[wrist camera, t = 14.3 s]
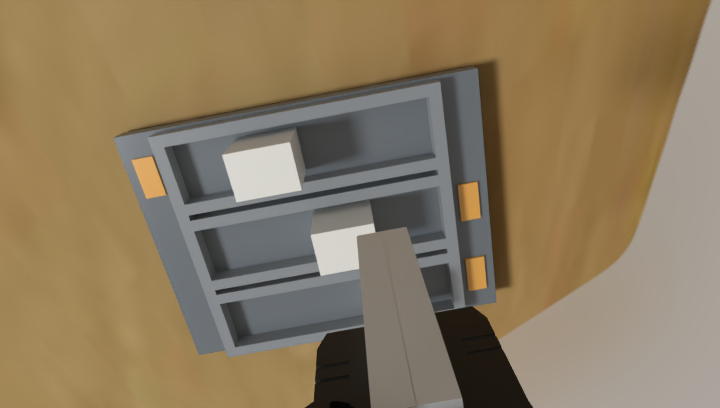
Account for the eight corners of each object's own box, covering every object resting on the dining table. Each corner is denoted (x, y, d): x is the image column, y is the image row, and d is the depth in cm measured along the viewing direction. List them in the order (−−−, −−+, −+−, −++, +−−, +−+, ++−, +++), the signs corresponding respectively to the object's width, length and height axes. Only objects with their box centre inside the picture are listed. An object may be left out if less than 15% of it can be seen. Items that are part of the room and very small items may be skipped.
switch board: (123, 132, 31) (104, 142, 29) (471, 65, 30) (483, 70, 28) (204, 342, 38) (194, 365, 35) (490, 291, 37) (501, 311, 35)
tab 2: (313, 210, 32) (310, 234, 28) (369, 199, 32) (373, 223, 28) (322, 247, 33) (320, 275, 29) (376, 237, 33) (381, 265, 29)
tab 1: (236, 138, 30) (221, 155, 26) (295, 126, 30) (289, 142, 26) (248, 180, 31) (236, 202, 27) (306, 170, 31) (301, 190, 27)
